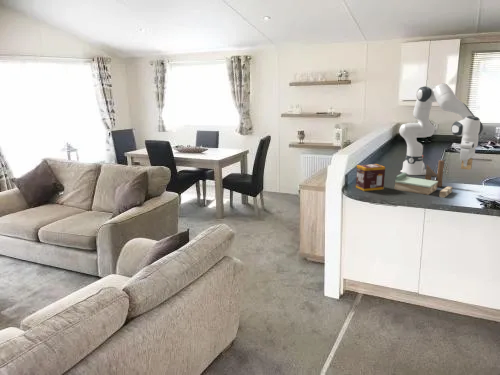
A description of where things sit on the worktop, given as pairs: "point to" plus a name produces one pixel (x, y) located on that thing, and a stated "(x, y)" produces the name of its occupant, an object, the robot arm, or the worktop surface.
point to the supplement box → (370, 177)
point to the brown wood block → (469, 164)
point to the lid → (414, 181)
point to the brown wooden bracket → (431, 173)
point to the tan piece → (423, 189)
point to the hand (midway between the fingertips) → (466, 165)
